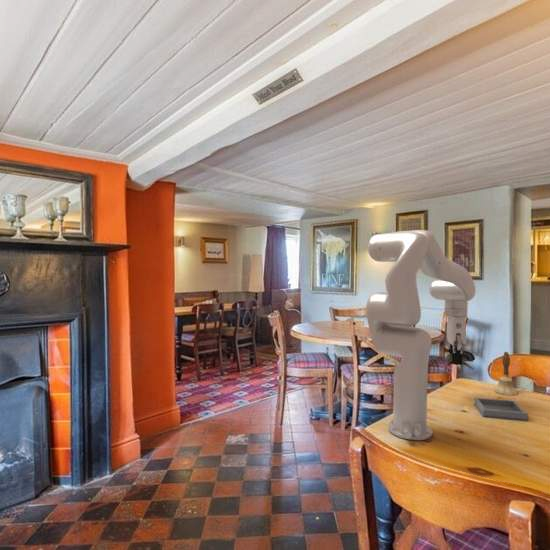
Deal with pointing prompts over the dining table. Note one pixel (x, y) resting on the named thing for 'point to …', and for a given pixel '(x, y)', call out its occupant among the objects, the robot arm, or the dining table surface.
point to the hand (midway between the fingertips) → (454, 361)
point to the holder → (500, 409)
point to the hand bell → (506, 379)
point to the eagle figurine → (465, 357)
